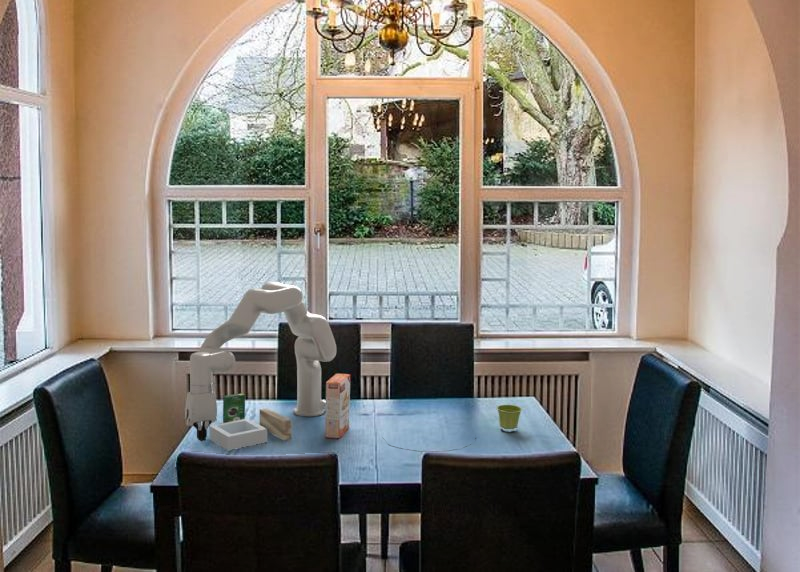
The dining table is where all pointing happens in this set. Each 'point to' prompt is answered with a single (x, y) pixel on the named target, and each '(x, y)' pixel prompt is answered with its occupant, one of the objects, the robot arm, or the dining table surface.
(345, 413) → the cracker box
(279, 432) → the wall
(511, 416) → the plant pot
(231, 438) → the open-top box
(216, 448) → the dining table surface
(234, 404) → the coffee box
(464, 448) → the dining table surface
